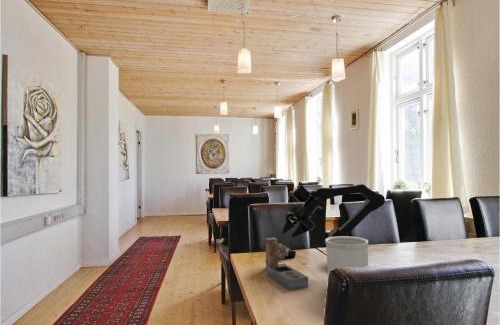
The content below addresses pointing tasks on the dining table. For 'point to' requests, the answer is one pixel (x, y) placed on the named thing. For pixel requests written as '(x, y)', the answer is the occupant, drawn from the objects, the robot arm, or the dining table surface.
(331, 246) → the utensil holder
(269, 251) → the walnut peg
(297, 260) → the dining table surface
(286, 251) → the caster wheel
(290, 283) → the grey peg hole block
